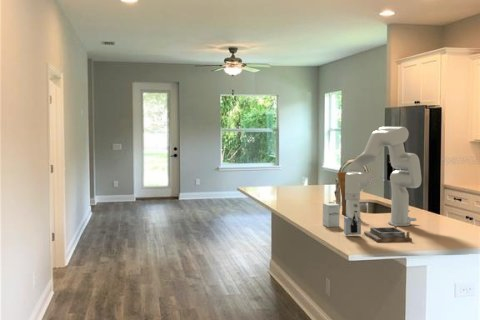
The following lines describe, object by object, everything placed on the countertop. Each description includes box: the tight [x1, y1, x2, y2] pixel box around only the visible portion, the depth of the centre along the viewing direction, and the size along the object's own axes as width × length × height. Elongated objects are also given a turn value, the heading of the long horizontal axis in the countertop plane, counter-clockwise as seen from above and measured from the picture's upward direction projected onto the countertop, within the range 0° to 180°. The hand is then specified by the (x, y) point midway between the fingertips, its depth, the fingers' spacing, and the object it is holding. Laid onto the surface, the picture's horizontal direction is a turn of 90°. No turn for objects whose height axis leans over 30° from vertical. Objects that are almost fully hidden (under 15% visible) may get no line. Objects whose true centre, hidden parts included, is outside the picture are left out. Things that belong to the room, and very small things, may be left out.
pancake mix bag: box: [337, 171, 347, 216], centre depth 314 cm, size 7×19×28 cm, turn 15°
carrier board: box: [363, 225, 413, 243], centre depth 250 cm, size 18×18×4 cm
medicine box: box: [343, 216, 362, 236], centre depth 253 cm, size 8×4×9 cm, turn 92°
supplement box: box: [322, 202, 341, 228], centre depth 281 cm, size 7×7×13 cm
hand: (352, 230), depth 254 cm, fingers closed on medicine box, 4 cm apart
